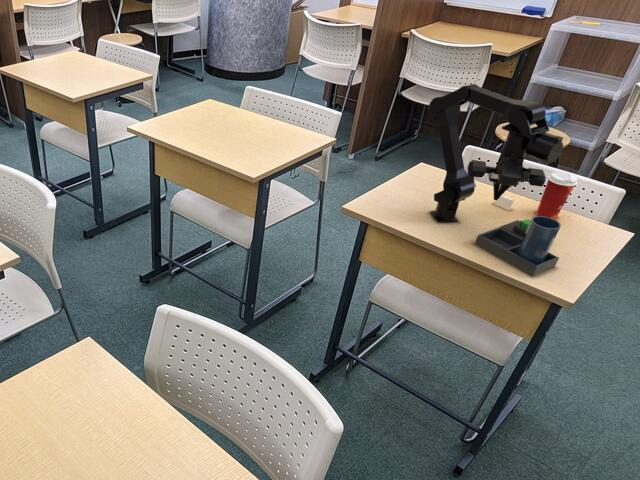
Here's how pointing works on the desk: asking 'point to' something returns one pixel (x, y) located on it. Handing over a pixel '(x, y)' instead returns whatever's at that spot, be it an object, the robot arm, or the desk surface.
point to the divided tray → (512, 251)
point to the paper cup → (556, 194)
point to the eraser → (504, 202)
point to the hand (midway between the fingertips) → (495, 199)
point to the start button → (525, 223)
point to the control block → (515, 228)
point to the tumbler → (538, 239)
